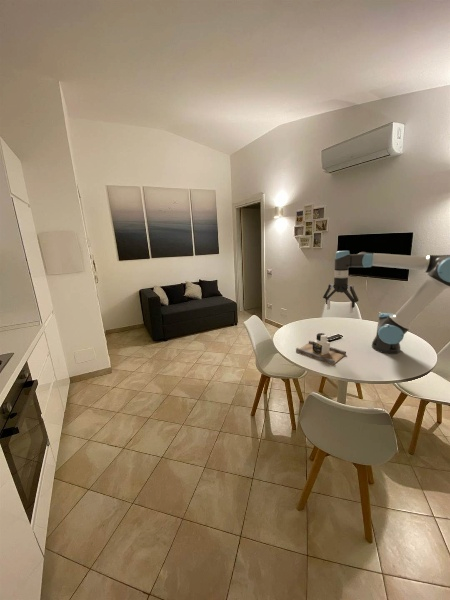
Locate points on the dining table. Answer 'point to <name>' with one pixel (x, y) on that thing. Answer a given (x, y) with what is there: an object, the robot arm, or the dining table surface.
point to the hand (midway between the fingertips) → (339, 311)
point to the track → (330, 358)
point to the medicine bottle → (321, 344)
